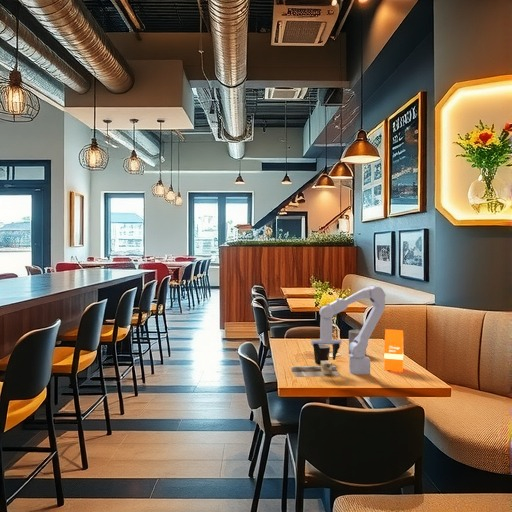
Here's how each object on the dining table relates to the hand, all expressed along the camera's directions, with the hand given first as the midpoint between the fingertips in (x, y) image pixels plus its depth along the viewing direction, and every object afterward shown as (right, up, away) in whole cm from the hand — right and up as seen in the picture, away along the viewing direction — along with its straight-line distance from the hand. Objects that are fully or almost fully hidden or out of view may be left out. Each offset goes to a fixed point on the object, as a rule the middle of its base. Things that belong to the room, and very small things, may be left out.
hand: (325, 359), depth 218 cm
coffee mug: (0, -8, +19) cm, 20 cm away
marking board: (-5, -8, -1) cm, 9 cm away
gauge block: (0, -6, 0) cm, 6 cm away
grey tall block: (+25, -8, +45) cm, 52 cm away
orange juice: (+36, -8, +12) cm, 39 cm away
